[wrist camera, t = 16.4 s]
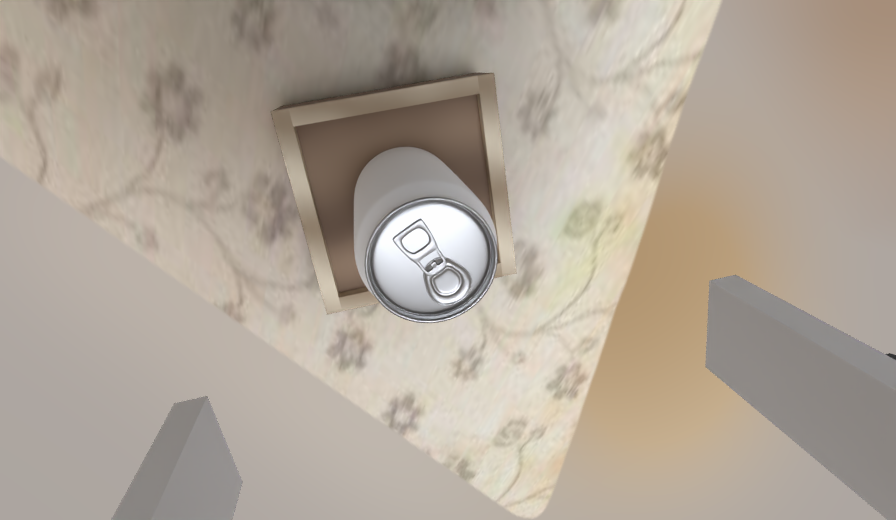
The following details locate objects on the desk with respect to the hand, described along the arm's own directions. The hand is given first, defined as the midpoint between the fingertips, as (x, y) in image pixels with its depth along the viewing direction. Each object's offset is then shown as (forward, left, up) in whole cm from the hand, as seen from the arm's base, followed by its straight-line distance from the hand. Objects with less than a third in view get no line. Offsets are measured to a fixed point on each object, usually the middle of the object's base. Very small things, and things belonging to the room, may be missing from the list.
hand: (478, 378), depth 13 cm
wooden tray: (0, 0, -24) cm, 24 cm away
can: (0, 0, -21) cm, 21 cm away
